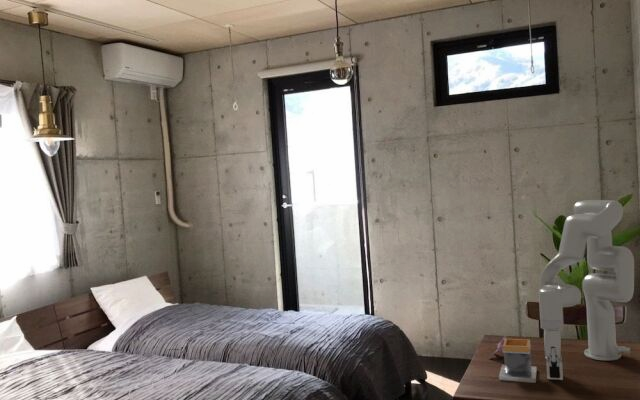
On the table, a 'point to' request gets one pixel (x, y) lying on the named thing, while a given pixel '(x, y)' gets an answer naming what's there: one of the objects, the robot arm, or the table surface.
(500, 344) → the lily
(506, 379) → the grey and orange container
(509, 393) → the table surface
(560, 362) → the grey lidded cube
